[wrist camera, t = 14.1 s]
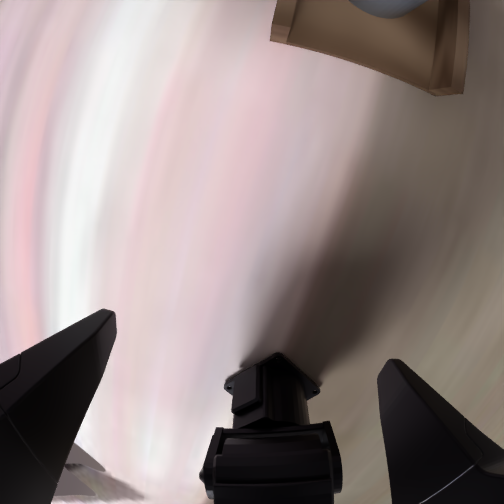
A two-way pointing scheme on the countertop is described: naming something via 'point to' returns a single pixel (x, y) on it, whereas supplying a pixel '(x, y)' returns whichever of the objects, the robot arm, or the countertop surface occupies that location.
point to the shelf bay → (384, 39)
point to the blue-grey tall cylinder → (387, 7)
